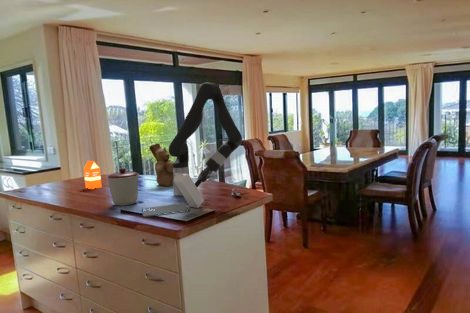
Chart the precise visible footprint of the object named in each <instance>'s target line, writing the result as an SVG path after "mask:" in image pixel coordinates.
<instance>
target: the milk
mask: <svg viewBox="0 0 470 313" xmlns="http://www.w3.org/2000/svg"><path fill="white" fill-rule="evenodd" d="M174 182H175V184H176V185H177V187H178V188H179V190H180V192H181V193H182V195H183V196H182V197H184V199H185V201H186V202H187V204H188V206H190V208H197V209H199V208H200V206H201V205H202V204H203V202H204V201H205V199H204V197H203V195H202V194H201V192H200V190H199V189H198V187H196V185H195V182H194V180H193V179H192V177H191V176H190V174H189V173H188V174H182V173H175V179H174Z"/></svg>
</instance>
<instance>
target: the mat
mask: <svg viewBox="0 0 470 313" xmlns="http://www.w3.org/2000/svg"><path fill="white" fill-rule="evenodd" d="M144 208H145V209H146V211H144V212H142V211H141V212H142V217H143V218H149V217H155V216H154V215H157V216H159V215H158V214H164V213H172V212H180V211H187V210H190V208H189V206H187V205H186V203H185V202H182V203H175V204H174V203H173V204H165V205H160V206H158V205H157V206H150V207H144ZM149 208H150V210H151V209H153V210H154V209H155V211H153V210H152V211H149V210H147V209H149ZM187 212H188V211H187ZM180 213H181V212H180ZM172 214H173V213H172Z"/></svg>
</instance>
